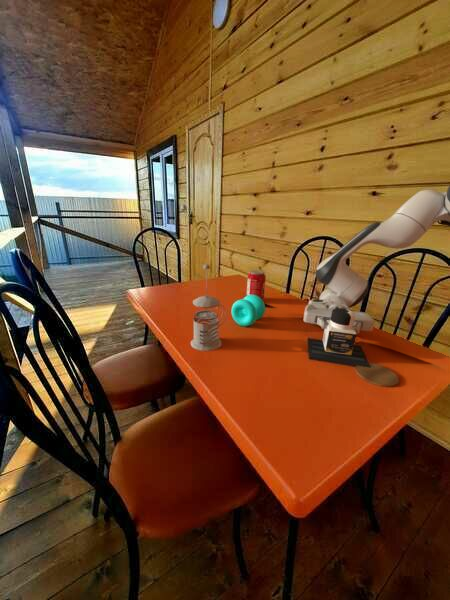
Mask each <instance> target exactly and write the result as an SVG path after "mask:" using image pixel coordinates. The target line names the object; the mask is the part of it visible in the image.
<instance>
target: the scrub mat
mask: <svg viewBox="0 0 450 600" xmlns="http://www.w3.org/2000/svg"><path fill="white" fill-rule="evenodd" d="M307 349H308V351H307V352H308V353H307V354H308V359H309V360H313V361H319V362H324V363H331V364H336V365H342V366H349V367H353V368H356V366H363V367H369V368H370V367H371V366H370V364H369V363H370V362H369V360H368V358H367V355H366V353H365V352H364V349H363V347H362V345H358V344H354V346H353V351H352V355H346V354H339V353H332V352H326V351H325V348H324V344H323V339H318V338H310V337H308V338H307Z"/></svg>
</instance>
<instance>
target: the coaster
mask: <svg viewBox="0 0 450 600" xmlns="http://www.w3.org/2000/svg"><path fill="white" fill-rule="evenodd" d="M369 364H370V366H371V367H370V368H369V367H363V366H356V367H354V371H355V373H356V374H357V375H358V376H359V377H360V378H361V379H362V380H364V381H365V382H367V383H370V384H372V385H374V386H378V387H383V388H393V387H396V386H398V385H399V383H400V378H399V376H398V374H397V373H395V372H394V371H393V370H391V369H390V368H388V367H386V366H383V365H381V364H378V363H374V362H369Z"/></svg>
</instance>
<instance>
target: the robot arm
mask: <svg viewBox="0 0 450 600" xmlns="http://www.w3.org/2000/svg"><path fill="white" fill-rule="evenodd" d="M436 223H438V225H441V226H447V227H450V185H448V187H447V189H446V192H439V191H437V190H434V189H423V190H422V189H421V190H420V191H418V192H416V193H415V194H414V195H413V196H411V197H410V198H409V199H408V200H406V201H405V202H404V203H403V204H402V205H401V206H400V207H398V209H397V210H396V211H395V212H394V213H393V214H392V215H391V216H390V217H388V218H387V219H386V220H384V221H382V222H376V221H375V222H372V223H371V224H369V225H368V226H366V227H365V228H363V229H362V230H361V231H360V232H358V233H357V234H355V235H354V236H353V237H352V238H350V240H348V241H347V242H346V243H345V244H344V245H342V246H341V247H340V248H338V249H337V250H336V251H334V253H332V254H331V255H330V256H328V257H326V258H325V259H324V260H322V261H321V262H320V263H319V264H318V265H317V266H316V269H315V276H316V280H317V281H318V282H319V283H321V284H322V285H324V286H326V287H327V288H326V289H324V290H323V291H322V292H321V293H320V295H319V297H318V299H309V301H308V304H307V305H306V306H305V308H304V313H303V322H304V323H306V324H312V325H318V326H320V327H321V329H322V330H325V329H327V326H328V322H326V320H330V319H331V314H332V310H333V309H336V308H344V309H348V310H350V308H352V307H353V308H354V307H356V306H357V305H358V304H360V303H362V301H363V300H364V299H365V298H366V297H367V295H368V291H369V287H370V286H369V281H368V280H367V279H366V278H365V277H363V276H362V275H361V274H359V272H357V271H356V270H354V269H353V268H351V267H350V266H349V265H348V264H346V262H345V261H346V260H347V259H349V258H350V257H351V256H352V255H354V254H355V253H356V252H357V251H359V250H360V249H361V248H362V247H364V246H366V245H369V244H374V245H377V246H381V247H386V248H389V249H397V250H398V249H399V250H400V249H406V248H408V247H411V246H412V245H414V244H415V243H416V242H417V241H419V240H420V239H421V238H422V237H423V236H424V235H425V234H426V233H427V232H428V231H429V229H431V227H433V226H434V225H435V224H436ZM351 311H352V312H354V314H355V318H354V323H353V328H354V330H355V332H356V334H360V331H364V332H372V331H373V330H374V327H375V323H376V321H375V319H374V318H373V317H372V316H371V315H370V314H368V313H366V312H363V311H357V310H356V311H355V310H351Z"/></svg>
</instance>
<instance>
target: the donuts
mask: <svg viewBox="0 0 450 600" xmlns="http://www.w3.org/2000/svg"><path fill="white" fill-rule="evenodd" d="M230 311H231V312H230V313H231V316H232V319H233V320H234V322H235V323H236V324H238V325H239V326H242V327H250V326H252V325H253V324H254V323H255V322H256V321H257V320H261V319H262V318H263V316H264V315H265V313H266V305H265V302H263V300H262V299H261V298H260V297H258V296H256V295H248V296H246V295H245V297H243V298H241V299H237V300H236V301H234V303H233V304H232V305H231V310H230Z"/></svg>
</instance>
